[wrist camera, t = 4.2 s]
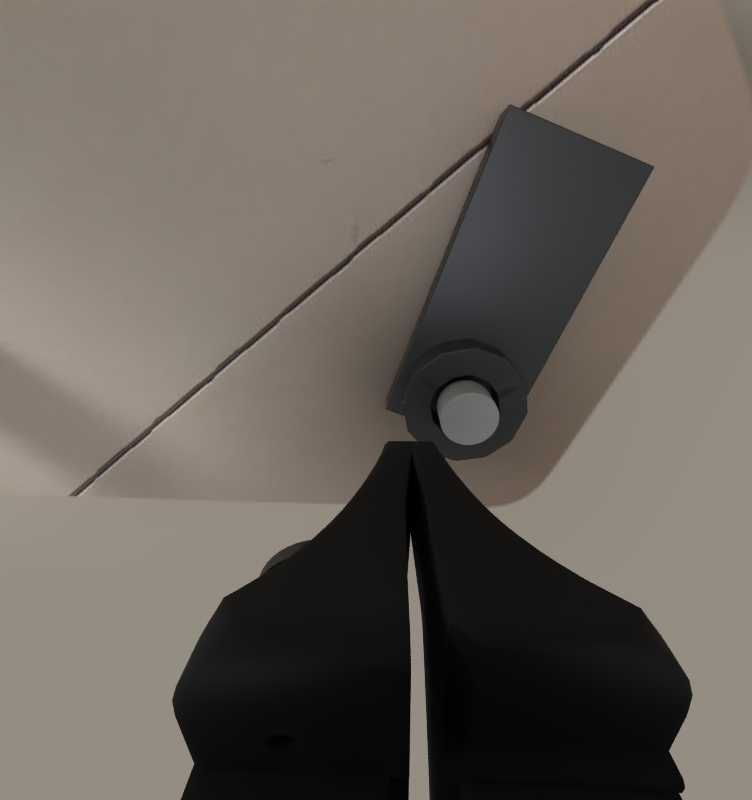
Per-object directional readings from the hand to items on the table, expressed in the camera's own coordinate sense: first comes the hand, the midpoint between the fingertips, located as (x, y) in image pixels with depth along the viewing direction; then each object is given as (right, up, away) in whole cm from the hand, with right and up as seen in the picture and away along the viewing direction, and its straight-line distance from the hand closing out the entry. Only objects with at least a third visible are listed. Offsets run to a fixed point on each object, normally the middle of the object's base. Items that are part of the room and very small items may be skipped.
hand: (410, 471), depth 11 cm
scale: (+5, +7, +7) cm, 11 cm away
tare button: (+3, +2, +6) cm, 7 cm away
